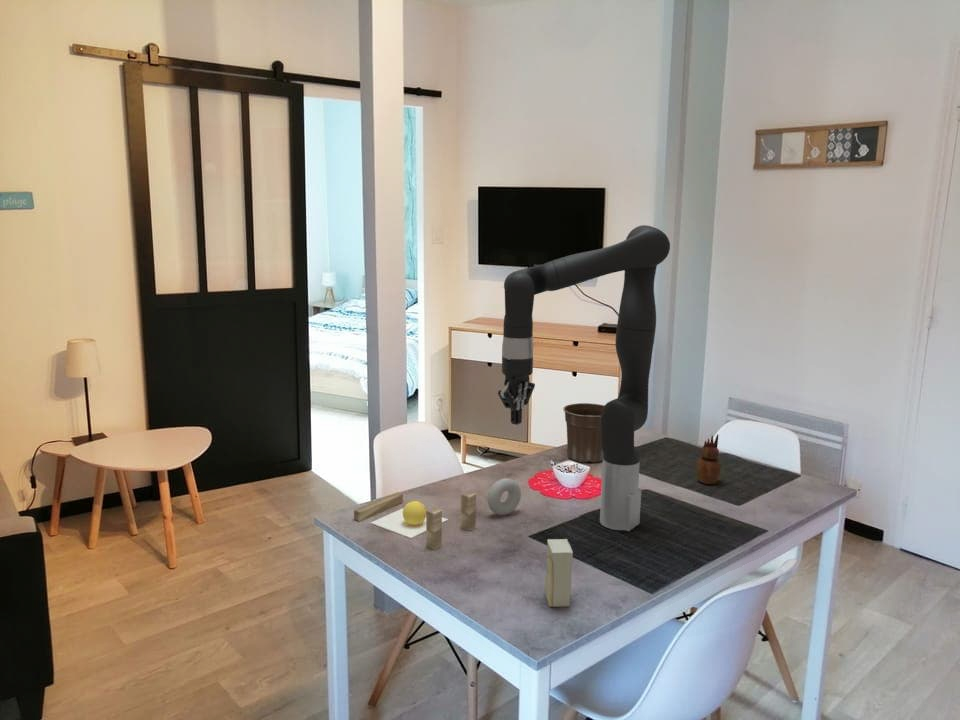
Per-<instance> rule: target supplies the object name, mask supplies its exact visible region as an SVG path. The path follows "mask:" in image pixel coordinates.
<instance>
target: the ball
mask: <svg viewBox="0 0 960 720" xmlns="http://www.w3.org/2000/svg"><path fill="white" fill-rule="evenodd" d="M403 508H404V509H403V518H404V520H405V521H406V522H407V523H408V524H410V525H419V524H421V523H422V522H423V521H424V520H425V518H426V511H427V509H426V506H425V505H424V504H423V503H422V502H420V501H418V500H417V501H416V500H414V501H413V500H412V501H409V502H408V503H406V504H405V505H404V507H403Z"/></svg>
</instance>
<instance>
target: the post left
mask: <svg viewBox="0 0 960 720" xmlns="http://www.w3.org/2000/svg"><path fill="white" fill-rule="evenodd" d="M442 517H443V510H442V509H438V508H436V507H432V508H429V509H428V510H427V509H426V531H425V533H426V534H425V535H426V540H425V542H426V543H425V544H426V545H425V546H426V548H429V549H431V550H436V549H438V548H440V547H442V546H443V544H442V543H443V534H442V533H443V526H442V525H443V523H442Z"/></svg>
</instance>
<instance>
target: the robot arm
mask: <svg viewBox="0 0 960 720" xmlns="http://www.w3.org/2000/svg"><path fill="white" fill-rule="evenodd" d="M670 251H671V242H670V240H669V237H668V236H667V234H665V232H663V231H662V230H661V229H659V228H657V227H654V226H651V225H643V224H642V225H639V226H636V227H634V228H633V229H631V231H629V233H628V234H627V236H626V239H625V240H623V241H620V242H618V243H615V244H613V245H610V246H606V247H603V248H598V249H593V250H589V251H583V252H577V253H574V254H570V255H566V256H564V257H559V258H557V259H553V260H550V261H548V262H545V263H543V264H540V265H535V266H530V267H526V268H523V269H519V270H516V271H513V272H511V273H509V274H508V275H507V276H506V278H505V280H504V282H503V289H504V313H505V314H504V317H503V329H502V331H503V334H502V335H503V337H502V343H501V344H502V346H501V347H502V348H501V373H502V374H503V375H504V376H505V378H504V382H503V384H504V385H503V386H504V387H503V388H502V390H498V392H497V395H498V397H499V398H500V400H501V402H502V404H503V406H504V408H506V409H509V410H510V423H511V424H512V425H516V426H517V425H520V424H522V420H523V409H524V407H525V406H527V405H528V404H529V401H530V399H531V396H532V394H533V391H534V389H535V386H536V384H535V383H534V382H531V381H530V376H531V375H532V374H533V373H534V369H533V368H534V340H533V331H534V330H533V327H534V326H533V325H534V322H533V321H534V319H533V311H534V303H535V302H534V301H535V295H538V294H541V293H545V292H555V291H559V290H564V289H565V288H569V287H572V286H575V285H578V284H582V283H583V282H587V281H590V280H593V279H596V278H597V279H598V278H599V277H603V276H606V275H609V274H614V273H618V272H623V271H624V275H623V276H624V278H623V279H624V280H623V287H622V292H621V299H620V305H619V309H618V310H619V312H618V315H617V317H618V318H617V325H616V332H615V350H616V355H617V360H618V362H619V366H620V371H621V377H620V378H621V380H620V385H619V386H620V387H619V392H618V396H617V398H615V399H612V400H610V401H608V402H606V403H605V406H604V407H603V409H602V413H601V420H600V444H601V449H602V452H603V461H602V467H601V490H600V492H601V493H600V510H599V512H600V513H599V523H600V524H601V525H602V526H603V527H604V528H607V529H610V530H614V531H626V532H631V530H633V529H635V527H637V526H638V525H640V521H641V519H640V518H641V503H642V502H641V501H642V489H641V488H639V483H640V482H639V481H640V466H641V465H640V464H641V450H640V448H639V447H637V446H635V432H636V431H638V430H640V429H641V428H642V427H643V426H644V425H645V423H646V421H647V420H648V415H649V414H648V413H649V380H650V373H651V367H652V358H653V351H654V345H655V336H656V331H657V330H656V328H657V309H656V299H655V279H656V273H657V267H658V266H659V265H660V264H661V263H662V262H664V261H665V260H666V259H667V257H668V255H669V253H670Z"/></svg>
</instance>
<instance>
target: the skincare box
mask: <svg viewBox="0 0 960 720" xmlns="http://www.w3.org/2000/svg"><path fill="white" fill-rule="evenodd" d="M546 544H547V545H546V547H547V548H546V559H545V560H546V561H545V563H546V565H545V576H544V577H545V579H544V580H545V582H544V593H545V598H546V601H547V603H548V607H550V608H553V607H561V608H562V607H570V602H571V589H572V572H573V556H574V554H573V553H574V552H573V549H572V546H571V544H570V542H569V541H568V538H562V539H561V538H548V539H547V542H546Z"/></svg>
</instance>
